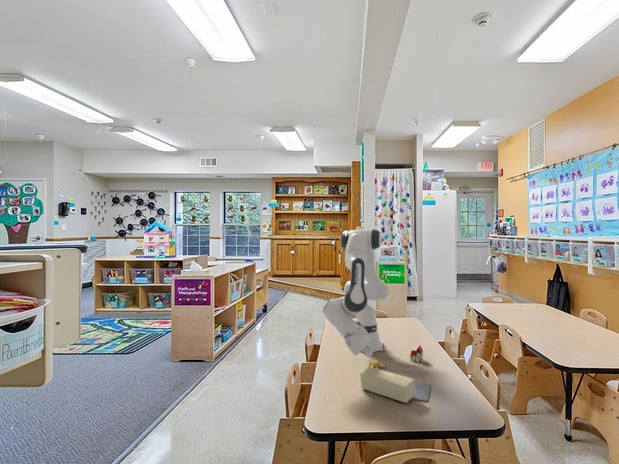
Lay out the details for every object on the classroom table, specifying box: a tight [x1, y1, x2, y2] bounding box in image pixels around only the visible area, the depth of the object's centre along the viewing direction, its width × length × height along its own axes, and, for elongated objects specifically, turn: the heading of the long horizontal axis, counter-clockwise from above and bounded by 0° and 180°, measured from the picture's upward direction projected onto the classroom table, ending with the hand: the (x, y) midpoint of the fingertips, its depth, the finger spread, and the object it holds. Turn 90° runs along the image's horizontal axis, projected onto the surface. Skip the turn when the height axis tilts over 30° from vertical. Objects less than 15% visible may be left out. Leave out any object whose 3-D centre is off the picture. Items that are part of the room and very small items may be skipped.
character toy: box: [368, 358, 386, 369], centre depth 175 cm, size 8×3×8 cm
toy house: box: [409, 345, 424, 364], centre depth 184 cm, size 6×7×8 cm
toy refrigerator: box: [360, 366, 415, 404], centre depth 147 cm, size 8×7×21 cm
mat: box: [369, 381, 432, 403], centre depth 151 cm, size 16×23×1 cm
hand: (371, 355), depth 157 cm, fingers closed
